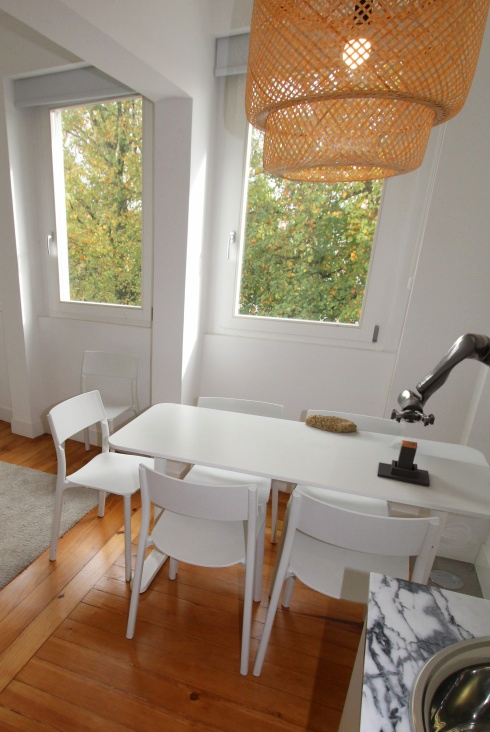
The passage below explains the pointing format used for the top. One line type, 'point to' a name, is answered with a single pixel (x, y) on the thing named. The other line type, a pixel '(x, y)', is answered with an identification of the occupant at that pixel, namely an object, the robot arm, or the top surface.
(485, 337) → the robot arm
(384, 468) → the base pad
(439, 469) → the top surface
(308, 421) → the sponge
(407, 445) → the black and orange block
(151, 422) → the top surface
